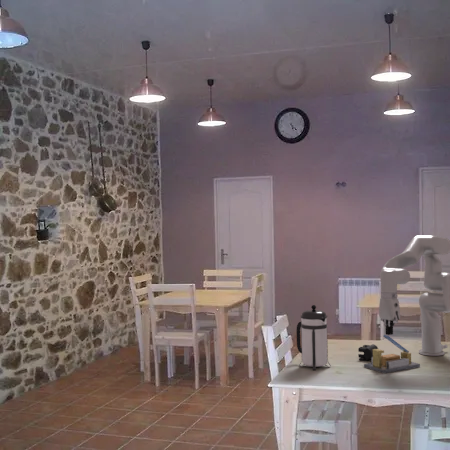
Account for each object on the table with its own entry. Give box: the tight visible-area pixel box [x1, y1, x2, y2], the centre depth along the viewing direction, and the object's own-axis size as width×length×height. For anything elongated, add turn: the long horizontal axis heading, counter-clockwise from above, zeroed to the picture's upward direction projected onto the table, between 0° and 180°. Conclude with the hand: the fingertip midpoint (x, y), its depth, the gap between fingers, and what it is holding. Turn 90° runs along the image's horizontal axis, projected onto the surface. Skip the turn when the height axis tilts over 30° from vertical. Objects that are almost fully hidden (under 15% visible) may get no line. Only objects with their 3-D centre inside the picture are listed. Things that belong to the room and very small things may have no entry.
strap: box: [383, 334, 410, 353], centre depth 298 cm, size 16×3×1 cm
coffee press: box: [296, 304, 331, 371], centre depth 301 cm, size 17×16×30 cm
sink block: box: [363, 348, 421, 374], centre depth 297 cm, size 22×14×9 cm, turn 117°
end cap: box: [358, 344, 379, 362], centre depth 315 cm, size 10×7×7 cm
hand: (389, 334), depth 296 cm, fingers closed
